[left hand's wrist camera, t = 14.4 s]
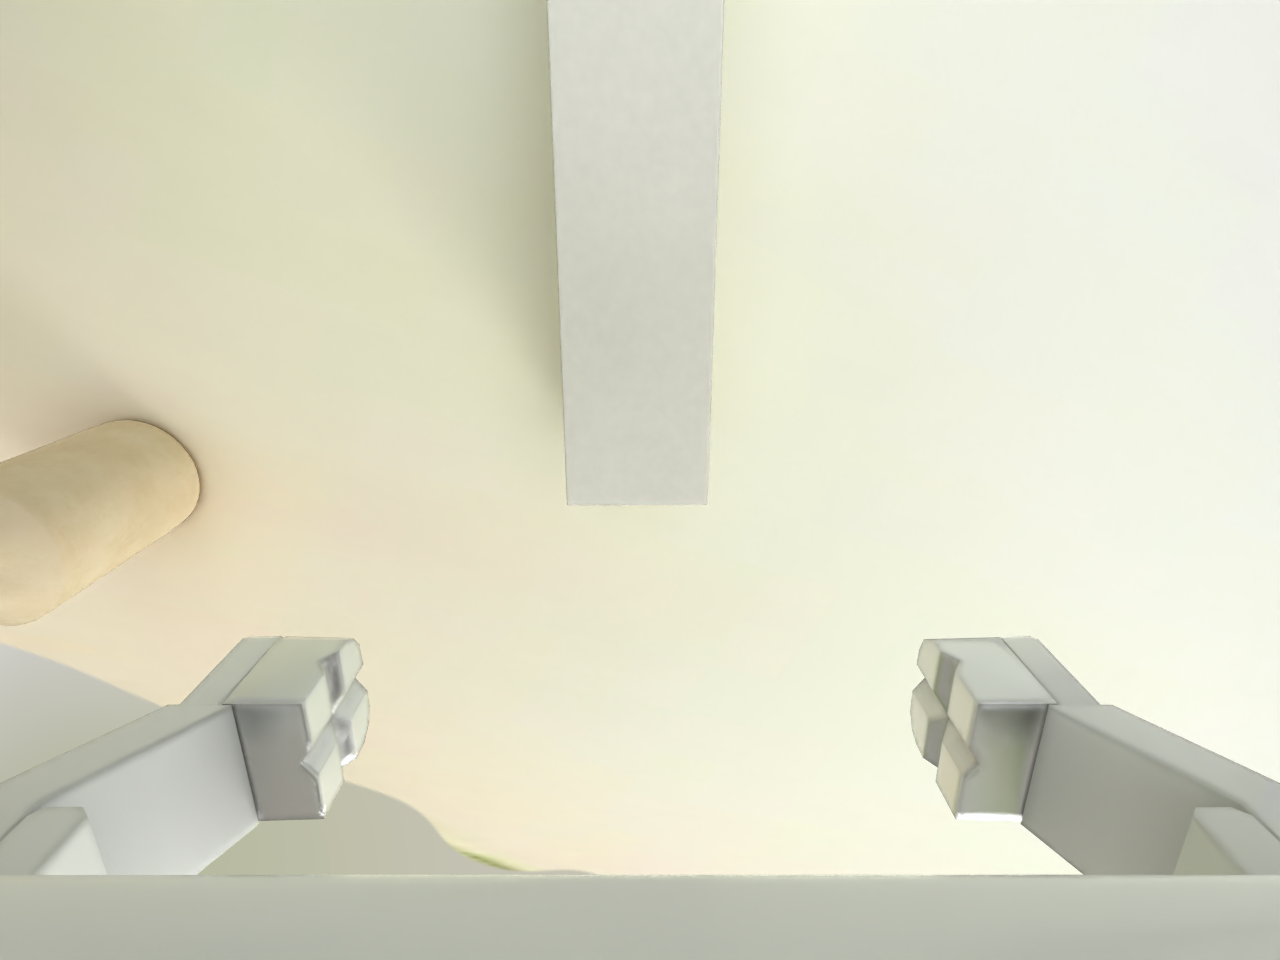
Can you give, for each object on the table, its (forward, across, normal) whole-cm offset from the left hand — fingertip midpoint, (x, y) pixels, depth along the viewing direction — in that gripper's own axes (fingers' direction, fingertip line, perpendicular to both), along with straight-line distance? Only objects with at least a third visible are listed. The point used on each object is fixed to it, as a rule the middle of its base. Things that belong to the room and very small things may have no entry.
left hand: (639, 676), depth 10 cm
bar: (+23, 0, +10) cm, 25 cm away
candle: (+23, -23, -5) cm, 33 cm away
